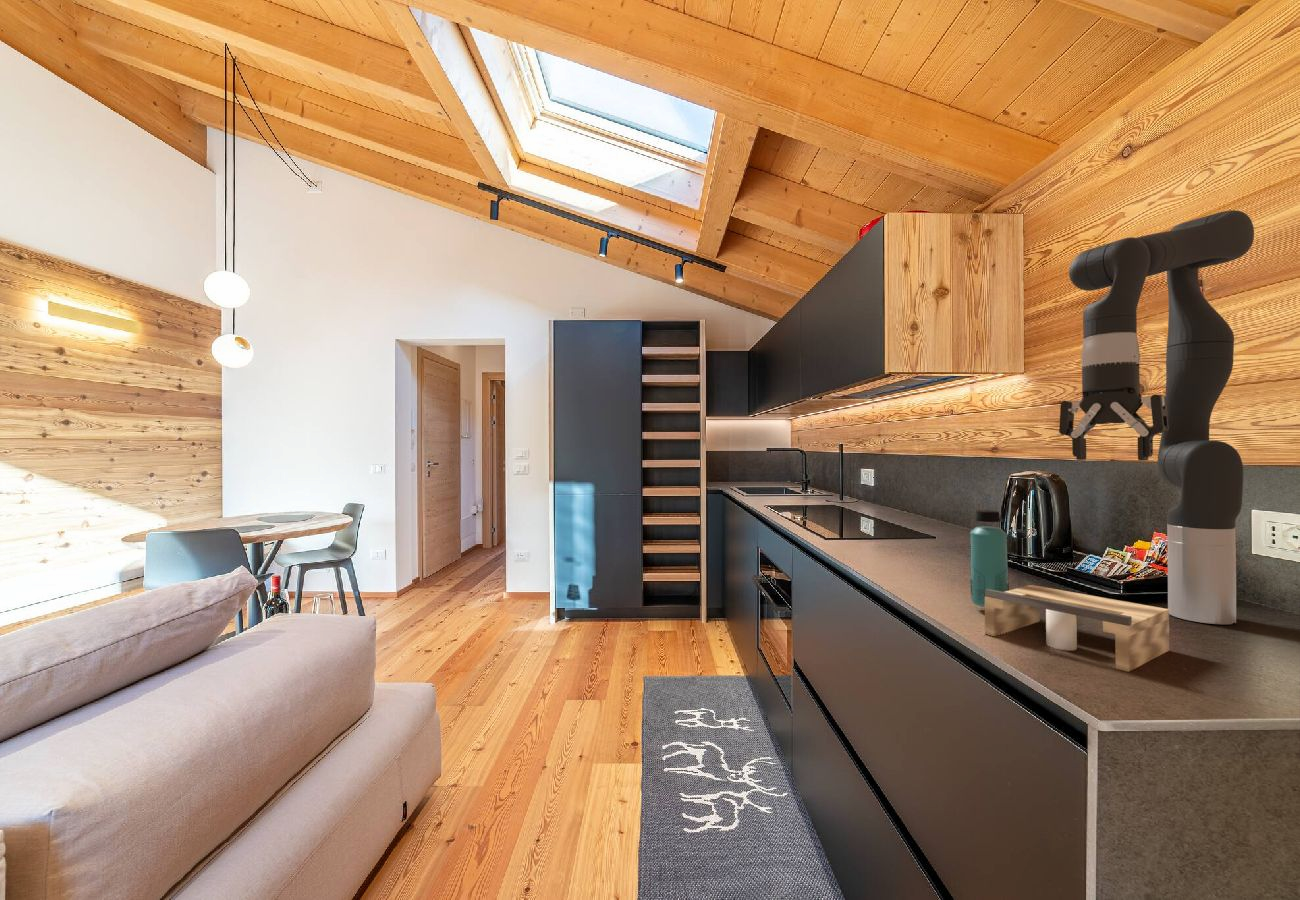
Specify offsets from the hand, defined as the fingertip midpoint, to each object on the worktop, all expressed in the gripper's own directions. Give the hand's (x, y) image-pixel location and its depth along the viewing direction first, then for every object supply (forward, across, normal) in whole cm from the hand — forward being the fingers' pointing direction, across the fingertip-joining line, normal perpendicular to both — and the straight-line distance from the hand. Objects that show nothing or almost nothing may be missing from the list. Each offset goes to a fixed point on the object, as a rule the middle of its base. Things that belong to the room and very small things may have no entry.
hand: (1111, 460), depth 96 cm
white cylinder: (+30, -3, -11) cm, 32 cm away
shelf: (+30, -3, -7) cm, 31 cm away
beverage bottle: (+30, -20, 0) cm, 36 cm away
